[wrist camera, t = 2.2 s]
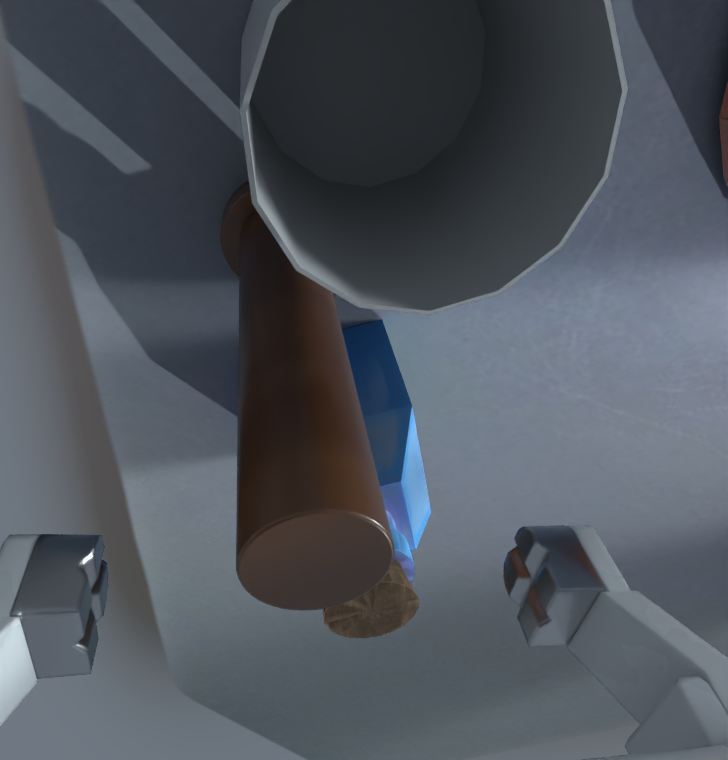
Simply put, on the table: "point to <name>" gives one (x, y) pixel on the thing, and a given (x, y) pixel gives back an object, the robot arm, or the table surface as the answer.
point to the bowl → (724, 134)
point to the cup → (427, 139)
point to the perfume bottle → (386, 483)
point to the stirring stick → (298, 435)
